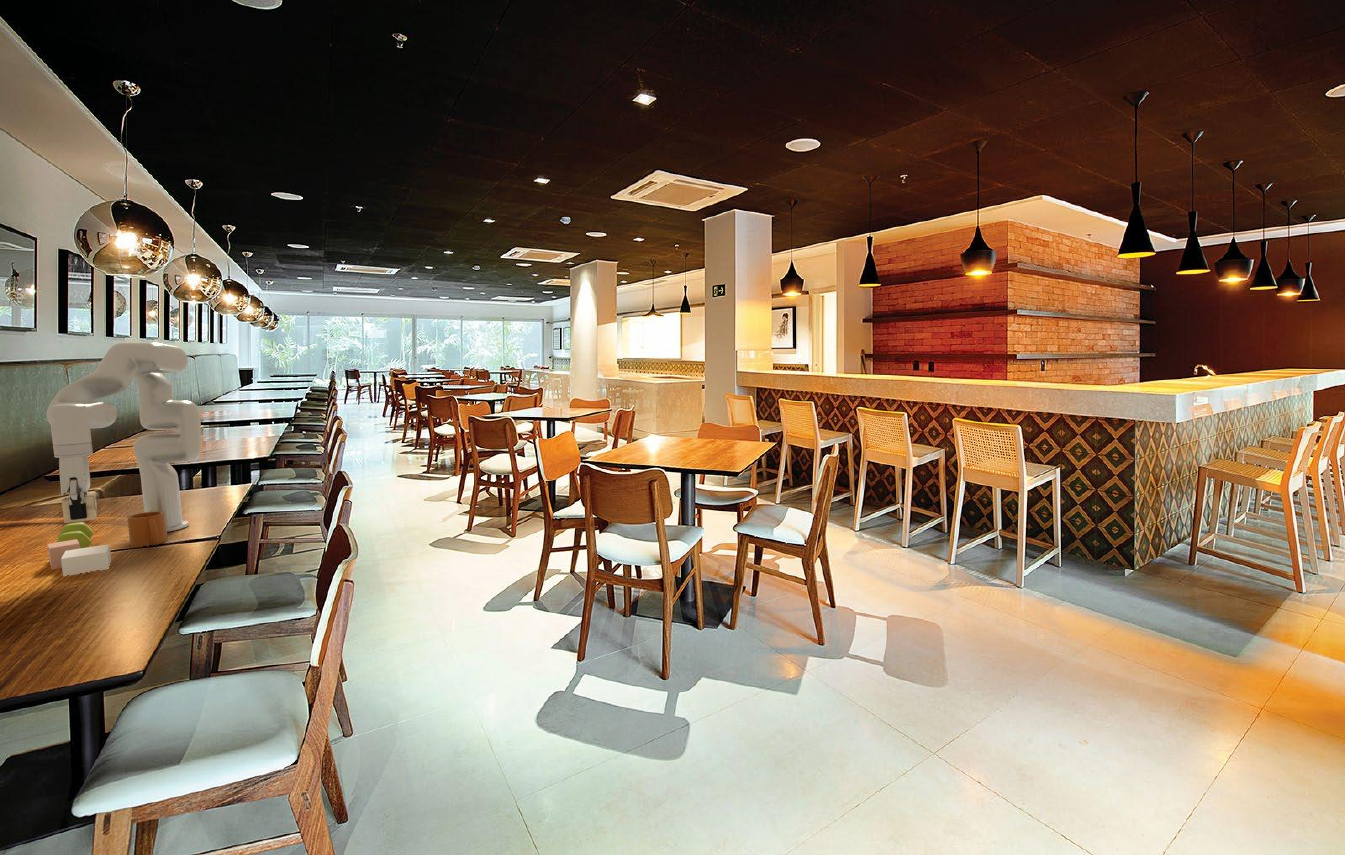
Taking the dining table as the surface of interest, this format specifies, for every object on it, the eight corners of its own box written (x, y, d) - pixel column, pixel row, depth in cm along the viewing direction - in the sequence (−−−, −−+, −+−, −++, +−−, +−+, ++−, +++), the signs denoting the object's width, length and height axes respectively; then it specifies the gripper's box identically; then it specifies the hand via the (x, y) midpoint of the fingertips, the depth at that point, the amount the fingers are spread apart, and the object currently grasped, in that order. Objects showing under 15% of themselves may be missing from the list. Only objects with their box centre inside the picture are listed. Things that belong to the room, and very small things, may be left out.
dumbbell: (92, 555, 185) (89, 531, 184) (54, 561, 180) (50, 536, 179) (95, 542, 197) (92, 519, 197) (60, 547, 192) (57, 524, 192)
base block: (67, 568, 174) (65, 550, 173) (111, 561, 179) (109, 544, 179) (63, 577, 167) (61, 558, 166) (108, 569, 172) (106, 552, 172)
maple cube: (68, 518, 172) (65, 496, 171) (97, 515, 176) (95, 493, 175) (64, 523, 167) (61, 500, 167) (94, 519, 171) (92, 497, 170)
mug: (130, 552, 187) (126, 522, 186) (130, 543, 196) (126, 514, 195) (169, 545, 193) (165, 516, 192) (167, 537, 202) (163, 509, 201)
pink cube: (50, 565, 176) (47, 544, 176) (79, 559, 181) (76, 539, 180) (52, 569, 172) (49, 548, 172) (82, 564, 177) (79, 543, 176)
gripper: (60, 447, 174) (67, 512, 176) (47, 455, 160) (55, 525, 162) (96, 445, 178) (103, 508, 181) (87, 452, 165) (95, 520, 167)
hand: (81, 515), depth 171 cm, fingers closed on maple cube, 6 cm apart
